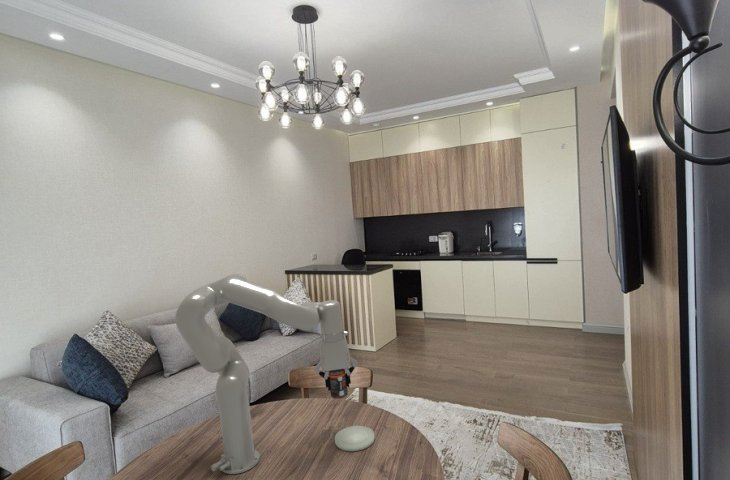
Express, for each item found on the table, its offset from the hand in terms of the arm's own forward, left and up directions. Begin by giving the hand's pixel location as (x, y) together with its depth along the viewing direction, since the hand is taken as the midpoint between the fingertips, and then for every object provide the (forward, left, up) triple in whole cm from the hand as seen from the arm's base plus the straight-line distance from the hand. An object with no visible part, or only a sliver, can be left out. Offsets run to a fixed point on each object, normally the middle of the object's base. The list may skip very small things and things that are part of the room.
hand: (338, 386), depth 139 cm
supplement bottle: (0, 0, -3) cm, 3 cm away
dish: (+3, -2, -20) cm, 21 cm away
